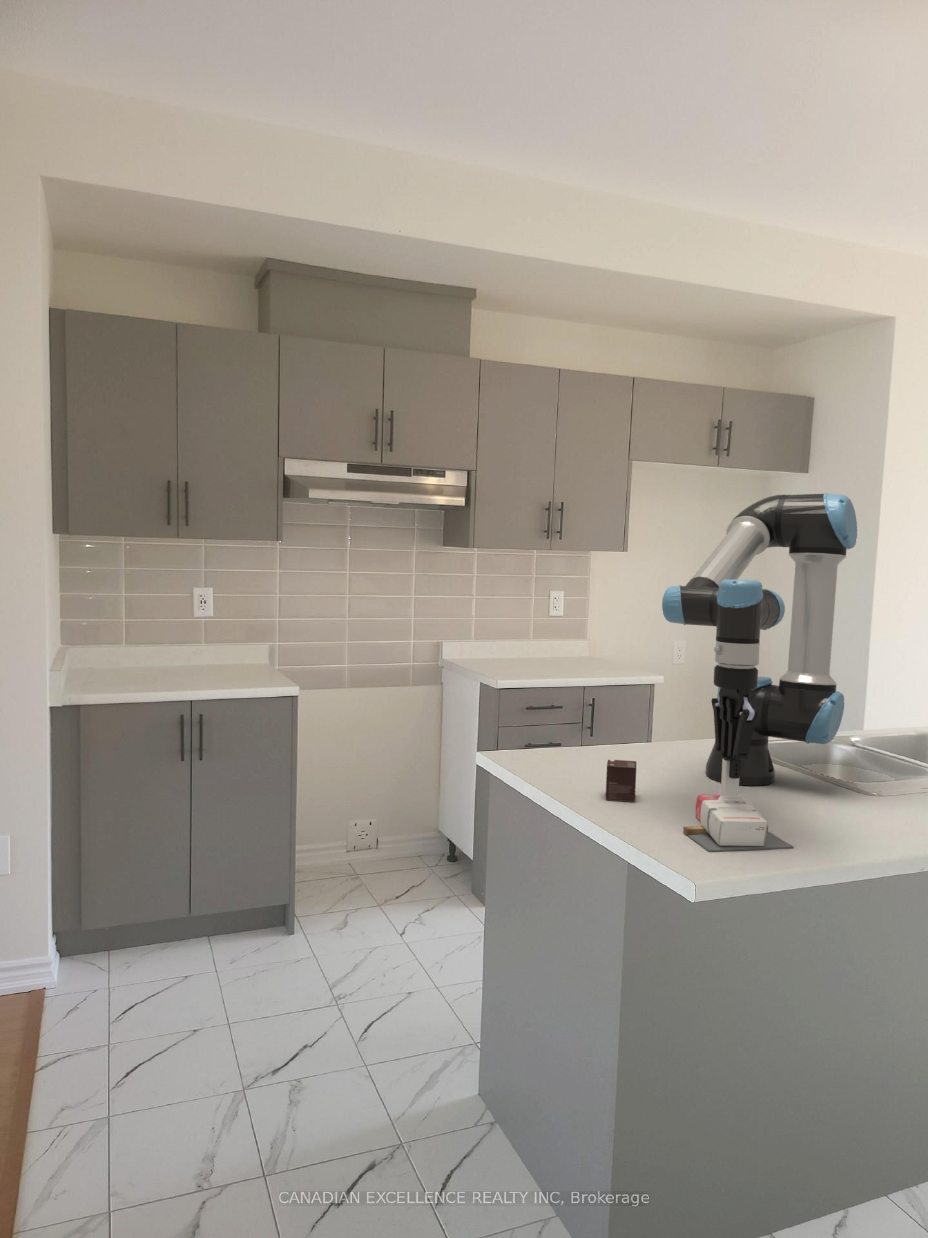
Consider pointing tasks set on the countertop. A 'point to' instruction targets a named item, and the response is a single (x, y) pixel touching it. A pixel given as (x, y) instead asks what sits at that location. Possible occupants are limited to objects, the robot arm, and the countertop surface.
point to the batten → (697, 830)
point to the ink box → (731, 820)
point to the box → (621, 780)
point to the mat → (712, 846)
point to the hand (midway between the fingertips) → (729, 794)
